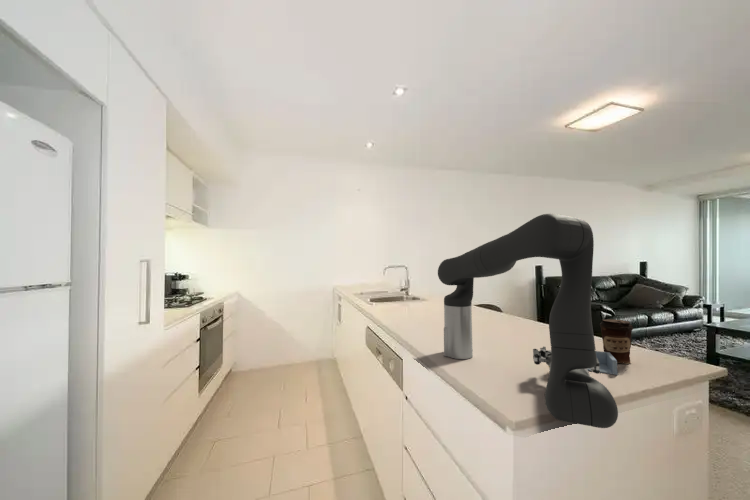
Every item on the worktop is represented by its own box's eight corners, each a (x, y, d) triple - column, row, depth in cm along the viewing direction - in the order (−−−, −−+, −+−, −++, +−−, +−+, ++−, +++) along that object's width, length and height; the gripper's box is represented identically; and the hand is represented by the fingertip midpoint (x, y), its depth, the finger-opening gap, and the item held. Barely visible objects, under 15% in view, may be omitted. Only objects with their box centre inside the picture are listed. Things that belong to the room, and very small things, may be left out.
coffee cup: (638, 367, 85) (636, 324, 86) (603, 362, 89) (601, 321, 90) (631, 359, 92) (629, 319, 93) (599, 355, 97) (597, 317, 97)
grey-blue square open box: (581, 369, 84) (580, 356, 84) (576, 361, 91) (576, 348, 91) (617, 375, 80) (616, 360, 80) (610, 365, 87) (609, 352, 87)
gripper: (606, 360, 62) (592, 342, 76) (532, 350, 69) (532, 335, 83) (608, 395, 62) (593, 370, 76) (533, 381, 69) (533, 361, 83)
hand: (561, 352), depth 80 cm, fingers open, 8 cm apart
